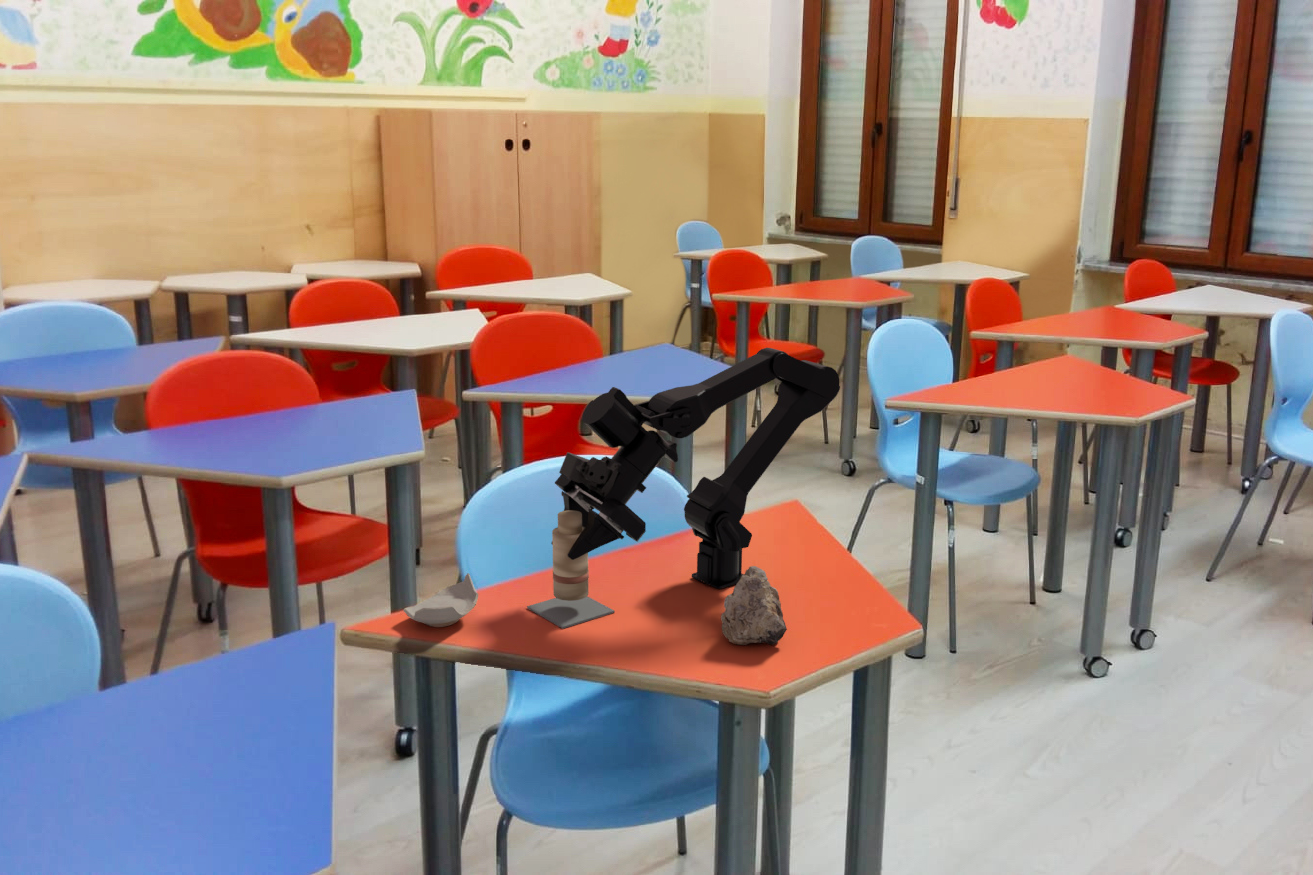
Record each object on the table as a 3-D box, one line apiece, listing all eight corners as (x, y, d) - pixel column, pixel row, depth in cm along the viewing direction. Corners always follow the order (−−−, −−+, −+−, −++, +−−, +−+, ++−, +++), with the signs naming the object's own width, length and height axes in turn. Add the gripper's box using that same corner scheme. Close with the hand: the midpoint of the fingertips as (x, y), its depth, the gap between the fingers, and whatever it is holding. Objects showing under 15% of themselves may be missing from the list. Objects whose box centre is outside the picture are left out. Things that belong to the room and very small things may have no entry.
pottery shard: (465, 601, 163) (464, 569, 162) (497, 629, 154) (497, 595, 153) (397, 616, 158) (395, 583, 156) (426, 646, 149) (425, 611, 147)
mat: (577, 593, 166) (577, 591, 166) (614, 612, 160) (614, 610, 159) (527, 608, 161) (527, 606, 161) (562, 628, 154) (562, 626, 154)
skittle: (585, 585, 162) (584, 507, 159) (591, 598, 158) (590, 518, 155) (550, 588, 161) (549, 509, 158) (556, 602, 156) (554, 521, 153)
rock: (721, 666, 149) (755, 631, 143) (691, 595, 155) (724, 559, 148) (770, 658, 154) (806, 624, 148) (740, 590, 159) (773, 555, 153)
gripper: (566, 418, 163) (497, 501, 161) (625, 448, 148) (551, 540, 145) (614, 463, 169) (548, 543, 167) (676, 496, 153) (605, 585, 151)
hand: (561, 551), depth 157 cm, fingers closed on skittle, 5 cm apart
